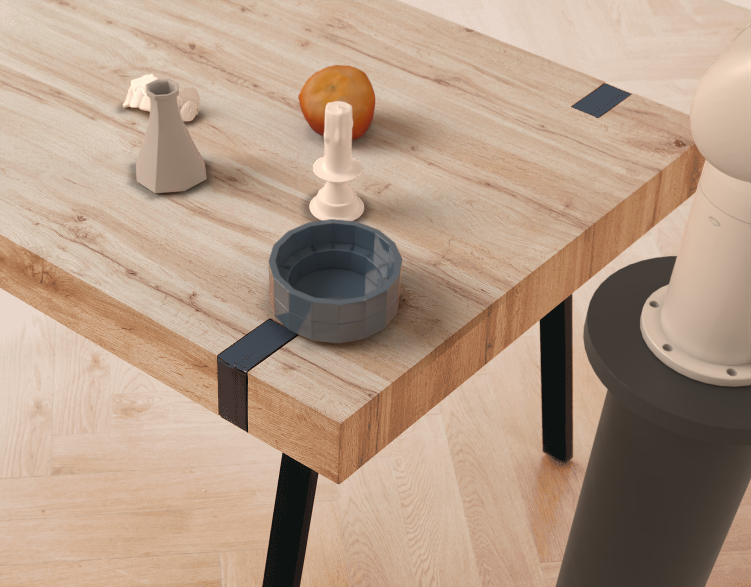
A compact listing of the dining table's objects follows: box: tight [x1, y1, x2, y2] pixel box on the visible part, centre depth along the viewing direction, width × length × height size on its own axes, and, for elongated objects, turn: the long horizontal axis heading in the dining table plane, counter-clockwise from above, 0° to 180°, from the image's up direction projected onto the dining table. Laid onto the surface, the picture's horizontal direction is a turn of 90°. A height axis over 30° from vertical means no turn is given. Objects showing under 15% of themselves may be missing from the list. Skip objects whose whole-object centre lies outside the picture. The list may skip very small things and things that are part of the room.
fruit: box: [298, 64, 376, 141], centre depth 114 cm, size 8×8×8 cm
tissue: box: [122, 73, 201, 122], centre depth 116 cm, size 6×8×4 cm
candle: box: [308, 101, 365, 221], centre depth 101 cm, size 5×5×12 cm
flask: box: [135, 78, 208, 194], centre depth 105 cm, size 7×7×10 cm
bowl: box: [268, 219, 403, 344], centre depth 93 cm, size 11×11×5 cm
